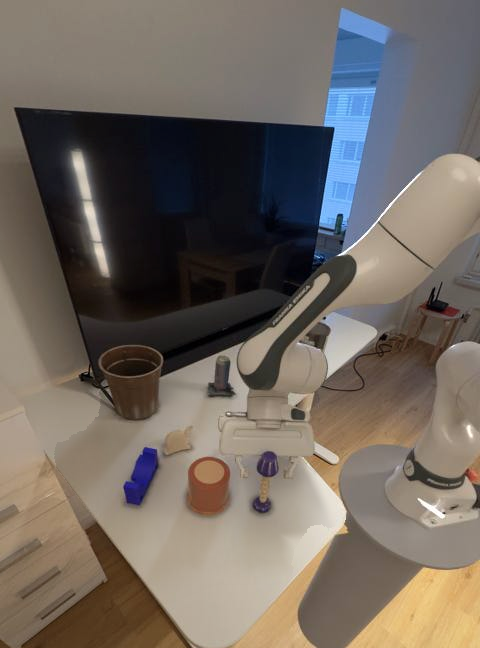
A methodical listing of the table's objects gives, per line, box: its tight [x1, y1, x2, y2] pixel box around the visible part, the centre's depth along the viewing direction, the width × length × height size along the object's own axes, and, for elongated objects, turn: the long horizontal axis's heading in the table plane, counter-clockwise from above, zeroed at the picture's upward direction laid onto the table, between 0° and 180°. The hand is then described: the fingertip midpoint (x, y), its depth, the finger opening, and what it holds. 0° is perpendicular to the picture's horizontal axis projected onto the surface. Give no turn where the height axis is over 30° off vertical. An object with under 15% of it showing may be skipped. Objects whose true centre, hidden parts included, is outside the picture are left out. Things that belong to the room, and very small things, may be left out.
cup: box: [186, 456, 231, 516], centre depth 76 cm, size 10×10×9 cm
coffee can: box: [298, 321, 332, 354], centre depth 123 cm, size 10×10×14 cm
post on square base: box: [206, 355, 236, 398], centre depth 106 cm, size 9×8×12 cm
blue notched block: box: [122, 446, 160, 507], centre depth 79 cm, size 12×4×6 cm, turn 170°
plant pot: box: [98, 344, 164, 421], centre depth 95 cm, size 16×16×16 cm
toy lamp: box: [252, 451, 280, 514], centre depth 73 cm, size 5×5×17 cm
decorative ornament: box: [163, 425, 194, 456], centre depth 89 cm, size 4×8×5 cm, turn 115°
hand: (265, 477), depth 72 cm, fingers open, 8 cm apart
